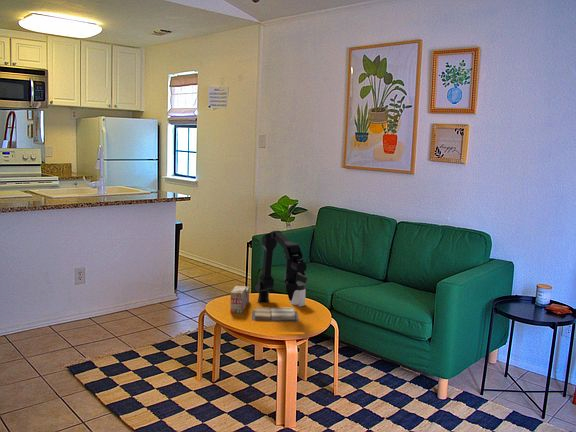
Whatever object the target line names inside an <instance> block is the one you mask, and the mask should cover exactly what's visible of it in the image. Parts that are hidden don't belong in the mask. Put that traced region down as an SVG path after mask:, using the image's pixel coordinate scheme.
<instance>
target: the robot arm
mask: <svg viewBox="0 0 576 432" xmlns="http://www.w3.org/2000/svg"><path fill="white" fill-rule="evenodd" d="M261 245H262V247H263V249H264V251H263V261H262V262H263V263H262V273H261V275H260V276H259V277H258V282H257V284H256V285H255V287H254V289H255V292H257V293H258V298H257V303H263V304H264V303H265V304H266V303H267V304H268V303H270V296H269V295H270V292H273V290H274V289H273V288H274V286H275V285H274V283H275V280H274V278H273V276H272V267H273V255H274V250H275V249H276V247H277V245H280V246H281V247H282V249H283V253H284V254H285V256H284V259H286V261H285V275H284V276H283V277H284V278H283V280H284V284H285V285H284V286H285V291H286V293H287V296H288V299H289V302H290V301H292V298H293V294H294V291H296V290H297V289H298V284H297V282H302V283H305V284H306V283H307V281H308V275H307V274H306V270H307V268H308V266H307V264H306V262H305V261H304V257H303V252H302V249H301V247H300V245H299V244H298V243H296V242H294V241H291V240H289V239H288V237H286V236H285V235H284V234H283V233H282V231H281V230H273V231H270V232H269V233H266V234H263V235H262V237H261Z"/></svg>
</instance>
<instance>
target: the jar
mask: <svg viewBox="0 0 576 432" xmlns="http://www.w3.org/2000/svg"><path fill="white" fill-rule="evenodd" d="M297 284H298V289H297V290H296V291H294V294H293V298H292V301H290V300H289V304H291V305H295V306H298V308H299V307H303V306H305V305H306V294H307V292H306V291H307V290H306V283H303V282H301V281H297Z"/></svg>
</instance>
